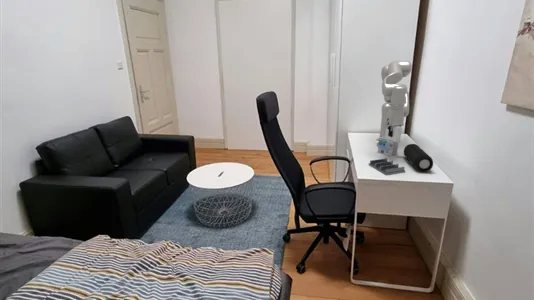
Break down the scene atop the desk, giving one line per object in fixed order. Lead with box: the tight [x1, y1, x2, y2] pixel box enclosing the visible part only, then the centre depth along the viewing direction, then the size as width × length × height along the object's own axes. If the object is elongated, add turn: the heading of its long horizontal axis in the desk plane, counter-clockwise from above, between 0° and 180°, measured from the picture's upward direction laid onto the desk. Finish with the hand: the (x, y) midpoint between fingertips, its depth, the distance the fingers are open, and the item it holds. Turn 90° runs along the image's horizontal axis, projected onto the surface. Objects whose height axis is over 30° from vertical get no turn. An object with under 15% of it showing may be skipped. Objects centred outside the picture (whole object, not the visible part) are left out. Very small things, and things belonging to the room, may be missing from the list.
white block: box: [385, 125, 403, 142], centre depth 181 cm, size 10×3×9 cm, turn 17°
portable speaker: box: [403, 143, 434, 173], centre depth 176 cm, size 26×10×10 cm, turn 172°
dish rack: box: [368, 157, 406, 176], centre depth 171 cm, size 16×13×3 cm
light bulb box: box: [377, 136, 399, 157], centre depth 195 cm, size 11×7×11 cm, turn 40°
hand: (392, 135), depth 182 cm, fingers closed on white block, 3 cm apart
